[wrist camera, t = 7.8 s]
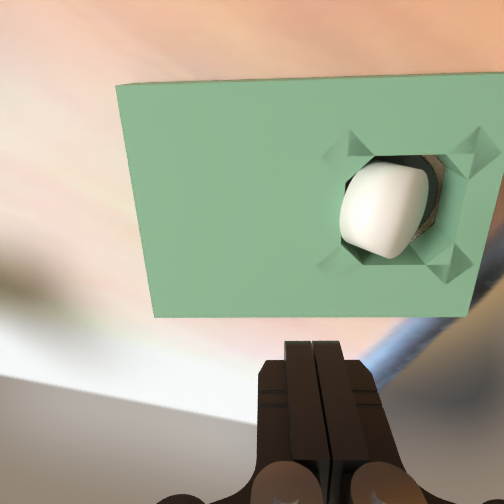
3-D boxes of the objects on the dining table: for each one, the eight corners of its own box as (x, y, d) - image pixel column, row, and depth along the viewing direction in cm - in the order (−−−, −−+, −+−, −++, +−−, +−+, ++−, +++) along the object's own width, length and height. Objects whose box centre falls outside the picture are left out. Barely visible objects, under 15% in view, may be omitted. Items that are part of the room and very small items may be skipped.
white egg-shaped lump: (344, 172, 20) (388, 183, 18) (393, 151, 23) (435, 159, 21) (335, 256, 22) (374, 272, 21) (381, 227, 25) (418, 240, 24)
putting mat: (165, 293, 28) (154, 317, 25) (133, 83, 22) (115, 85, 19) (447, 291, 27) (466, 316, 25) (495, 71, 21) (529, 73, 18)
